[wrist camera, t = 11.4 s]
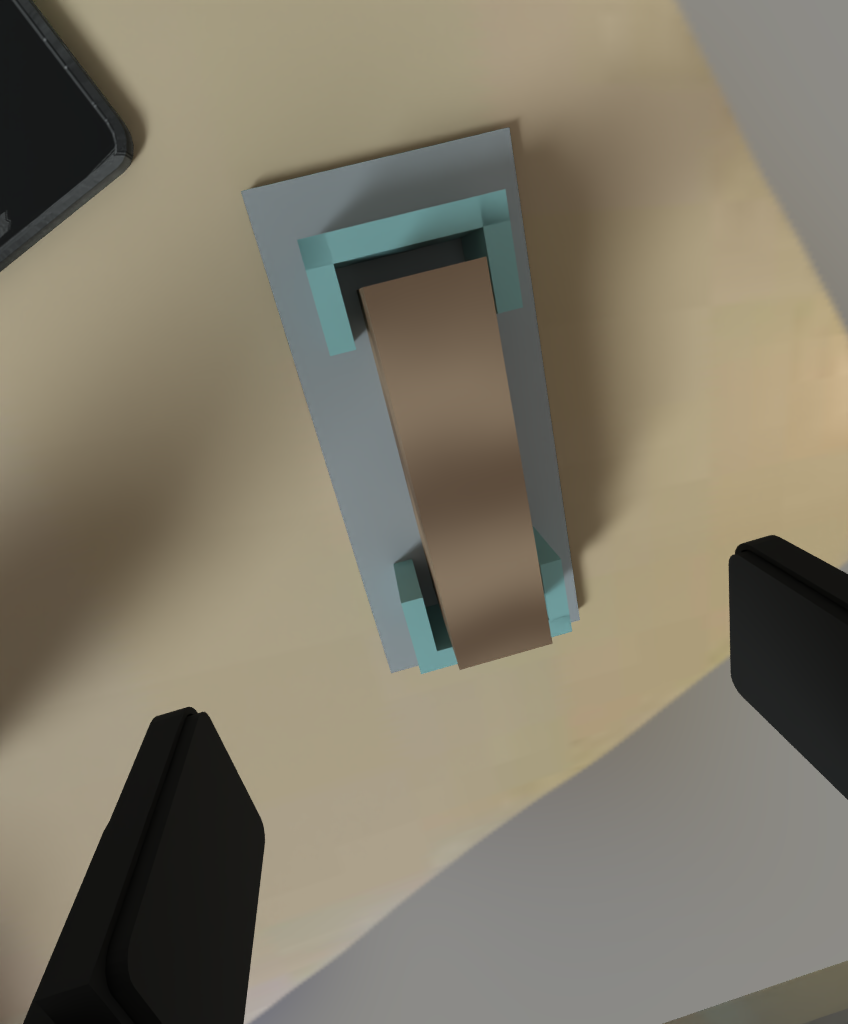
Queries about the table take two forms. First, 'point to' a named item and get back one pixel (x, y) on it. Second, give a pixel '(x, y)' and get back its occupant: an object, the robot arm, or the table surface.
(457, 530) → the brown wooden block
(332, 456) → the rail
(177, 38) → the table surface
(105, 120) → the phone
